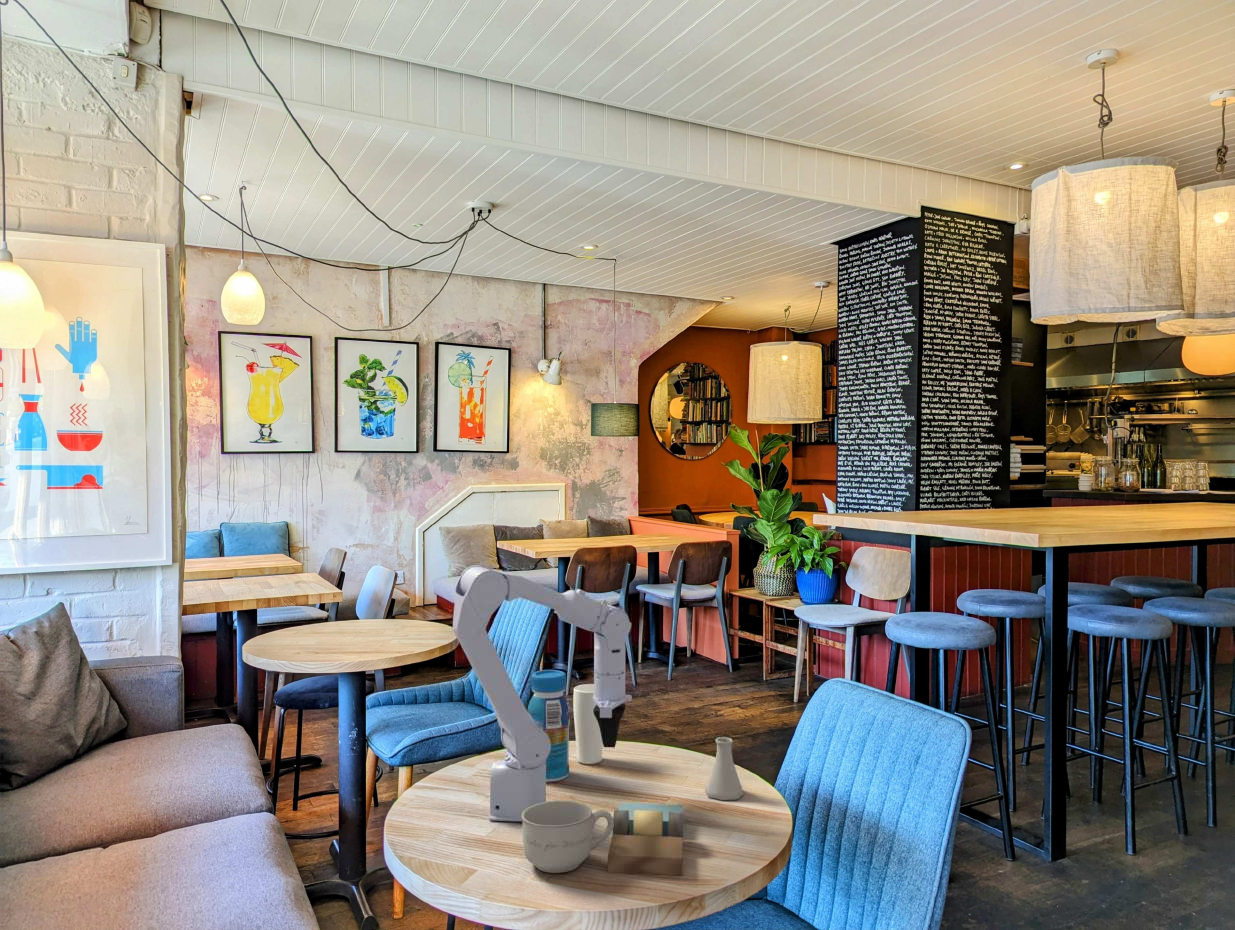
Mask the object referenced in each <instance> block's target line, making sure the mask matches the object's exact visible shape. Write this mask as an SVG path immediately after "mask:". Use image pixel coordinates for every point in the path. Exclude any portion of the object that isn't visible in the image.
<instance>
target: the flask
mask: <svg viewBox="0 0 1235 930" xmlns="http://www.w3.org/2000/svg"><path fill="white" fill-rule="evenodd" d="M733 742H734V740H733V739H732V738H731V737H726V736H723V737H717V738H715V743H716V753H715V760H714V763H713V766H712V769H711V772H710V775H709V778H708V781H707V784H706V786H705V790H704V792H705V794H706V796H707V797H708V798H712V799H717V800H722V801H726V800H727V801H729V800H730V801H732V800H739V799H740V798H741V797H743V795H745V792H744V790H743V787H742V784H741V780H740V778H739V775H738V772H737V769H736V767H735V763H734V759H733V758H734V757H733V752H732V744H733Z"/></svg>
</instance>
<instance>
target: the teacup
mask: <svg viewBox="0 0 1235 930" xmlns="http://www.w3.org/2000/svg"><path fill="white" fill-rule="evenodd" d="M547 801H548V802H543V803H539V804H536V805H533V806H530V807H528V808H527V809H526V810H525V811H524V812H523V813H522V820H523V822H522V844H523V847H522V848H523V853H524V855H525V857H526V859H527V860H528V862H529V863H530V864H532V865H533V866H535V867H536V868H537V869H538V870H540V871H542V872H544V873H549V874H550V873H551V874H561V873H566V872H571V871H574V870H576V869H577V868H578V867H579V866H580V865H581V864H582V863H583V862H584V861H585V860H586V859H587V858H588V856H589V855H590V852H591V851H593V850H594V849H595V848H596V847H597V845H598V844H600V843H601V842H603V841H604V840H606V839H607V838H608V837H609V836H610V835H611V833H613V827H614V820H613V815H612V814H611V812H609V811H608V810H605V809H599V810H596V811H595V812H593V810H592V808H591V807H590V806H588V805H587V804H585V803H582V802H578V801H575V800H572V801H571V800H550V801H549V800H547ZM600 818H604V819H606V822H607V825H606V827H605V829H604V830H603V831H601V832H600V833H599V834H598V835H596V836H594V837H593V829H594V828H595V824H596V822H597V821H598V820H599V819H600Z"/></svg>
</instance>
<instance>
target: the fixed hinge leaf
mask: <svg viewBox="0 0 1235 930" xmlns="http://www.w3.org/2000/svg"><path fill="white" fill-rule="evenodd" d="M612 817H613V820H614V827H613V830H612V835H611V839H610V844H609V848H608V854H607V873H620V874H621V873H622V874H639V875H641V874H644V875H665V876H667V875H668V876H683V869H684V867H683V866H684V865H683V860H684V856H683V853H684V851H683V850H684V849H683V848H684V812H683V813H682V812H669V821H668V837H664V836H663V837H662V836H637V835H629V810H618V809H614V811H613V815H612Z"/></svg>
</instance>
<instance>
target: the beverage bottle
mask: <svg viewBox="0 0 1235 930" xmlns="http://www.w3.org/2000/svg"><path fill="white" fill-rule="evenodd" d="M566 688H567V676H566V673H565V672H564V671H561V670H557V669H544V670H537V671H534V672H533V673H532V674H531V691H532V692H533V693H534V694H533V695H532V697H531V699H529V702H528V706H527V711H528V713H529V714H530V716H531V717H532V719H533V720H534V722H535V724H536V726H537V727H538V728H539V729H540V730H542V731H543V732H545V733H546V734H547V736H548V737H549V739H550V742H551V749H550V753H549V755H548V757H547V759H546V783H552V782H553V783H555V782H559V781H562V780H564V779H566V778H567V777H568V776H569V775H570V763H569V762H570V755H569V753H570V749H569V747H570V744H569V743H570V726H571V718H570V716H569V712H570V704H569V701H568V698H567V696H566V695H565V694H564V692H565V691H566Z"/></svg>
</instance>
